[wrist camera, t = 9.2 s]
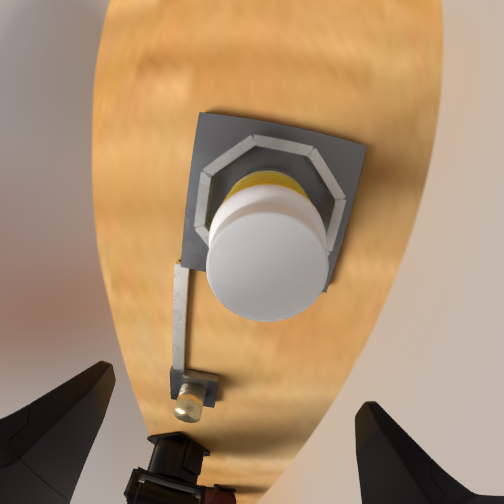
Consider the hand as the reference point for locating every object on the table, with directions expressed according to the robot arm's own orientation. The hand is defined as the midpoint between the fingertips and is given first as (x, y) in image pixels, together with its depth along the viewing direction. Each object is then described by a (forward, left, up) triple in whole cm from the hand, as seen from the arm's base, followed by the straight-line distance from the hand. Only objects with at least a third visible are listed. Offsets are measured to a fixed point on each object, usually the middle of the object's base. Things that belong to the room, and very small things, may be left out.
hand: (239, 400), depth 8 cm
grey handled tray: (-3, -3, -11) cm, 12 cm away
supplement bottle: (+3, +3, -11) cm, 11 cm away
